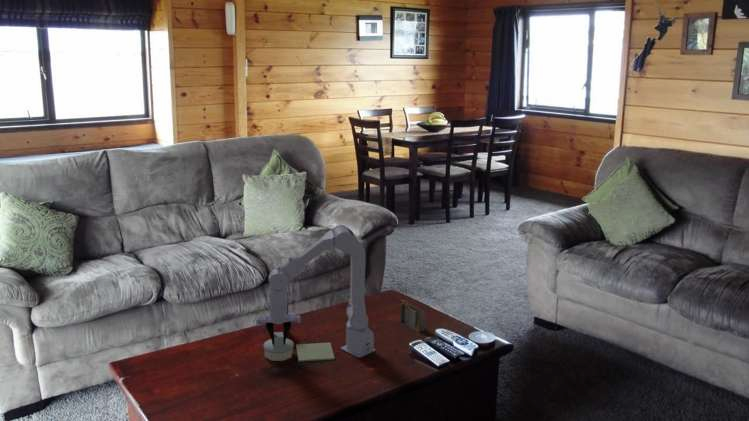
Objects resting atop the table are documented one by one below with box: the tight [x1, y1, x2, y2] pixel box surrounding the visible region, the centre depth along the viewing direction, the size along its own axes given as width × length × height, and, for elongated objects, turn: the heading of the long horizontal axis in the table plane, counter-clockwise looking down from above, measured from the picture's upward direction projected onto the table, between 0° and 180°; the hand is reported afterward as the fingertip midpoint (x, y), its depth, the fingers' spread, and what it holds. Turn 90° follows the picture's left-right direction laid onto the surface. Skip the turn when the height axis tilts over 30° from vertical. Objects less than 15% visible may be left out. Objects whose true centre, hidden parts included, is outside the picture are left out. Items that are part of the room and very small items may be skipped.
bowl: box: [264, 348, 294, 362], centre depth 228 cm, size 9×9×3 cm
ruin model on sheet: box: [400, 299, 426, 333], centre depth 253 cm, size 11×3×10 cm, turn 34°
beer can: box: [273, 303, 289, 332], centre depth 244 cm, size 7×7×12 cm
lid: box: [263, 332, 295, 353], centre depth 227 cm, size 10×10×4 cm
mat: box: [295, 342, 336, 363], centre depth 231 cm, size 12×12×1 cm
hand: (278, 342), depth 227 cm, fingers closed on lid, 3 cm apart
